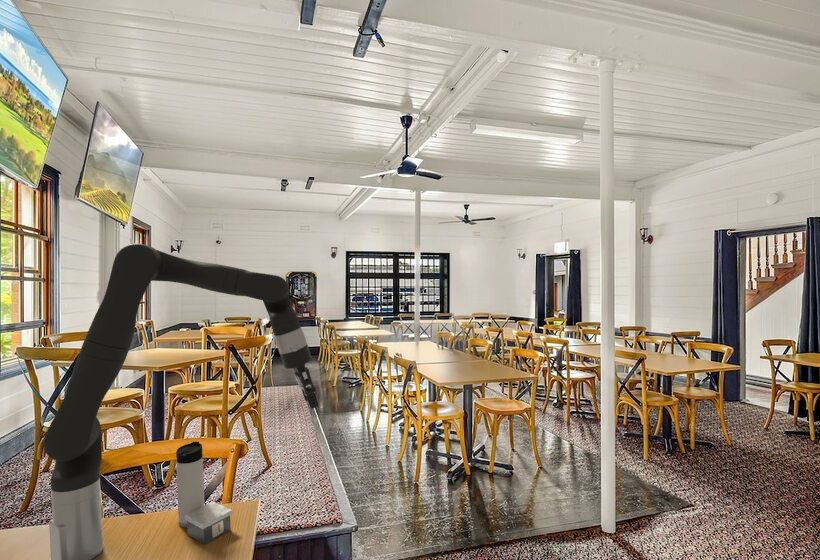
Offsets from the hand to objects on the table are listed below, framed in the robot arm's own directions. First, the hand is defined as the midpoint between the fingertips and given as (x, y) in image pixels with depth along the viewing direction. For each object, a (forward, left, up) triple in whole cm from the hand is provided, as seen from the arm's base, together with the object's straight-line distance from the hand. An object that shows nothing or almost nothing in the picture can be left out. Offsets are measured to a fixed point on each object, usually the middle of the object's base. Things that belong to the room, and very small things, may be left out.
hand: (311, 403), depth 125 cm
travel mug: (-21, +24, -29) cm, 43 cm away
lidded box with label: (-22, +15, -29) cm, 39 cm away
